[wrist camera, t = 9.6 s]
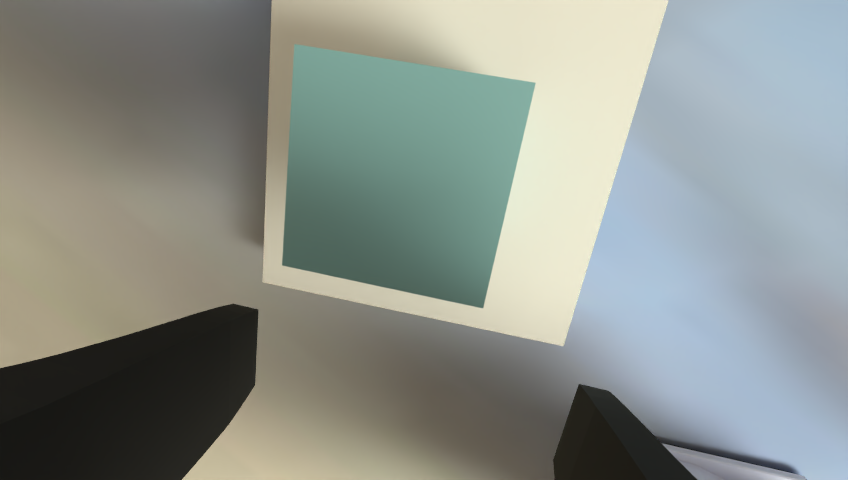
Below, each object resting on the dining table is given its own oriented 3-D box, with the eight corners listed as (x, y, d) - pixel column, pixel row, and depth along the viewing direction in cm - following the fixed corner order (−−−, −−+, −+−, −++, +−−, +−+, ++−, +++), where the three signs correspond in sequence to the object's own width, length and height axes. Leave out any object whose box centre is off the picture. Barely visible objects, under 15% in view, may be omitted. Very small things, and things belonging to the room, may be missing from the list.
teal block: (512, 100, 13) (535, 83, 7) (483, 232, 14) (483, 308, 8) (377, 77, 13) (294, 44, 7) (361, 209, 14) (282, 265, 9)
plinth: (640, 6, 14) (674, -19, 11) (552, 315, 17) (563, 346, 15) (307, -38, 15) (274, -68, 12) (291, 261, 18) (262, 282, 16)
